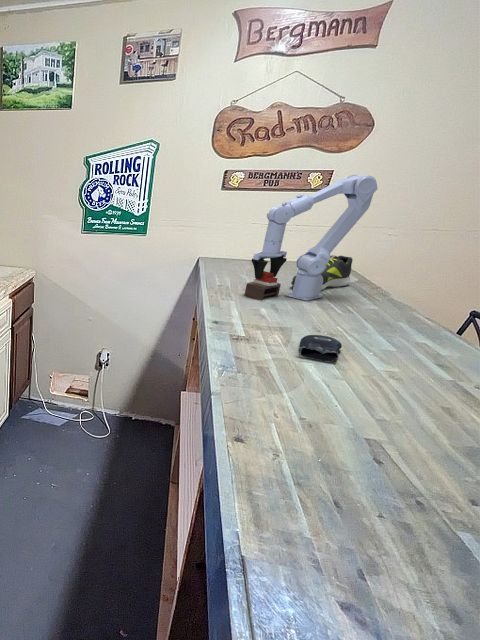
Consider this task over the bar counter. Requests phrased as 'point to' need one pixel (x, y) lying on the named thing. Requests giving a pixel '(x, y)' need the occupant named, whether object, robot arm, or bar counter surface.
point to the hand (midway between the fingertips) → (265, 277)
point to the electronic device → (319, 348)
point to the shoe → (267, 279)
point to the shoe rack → (261, 290)
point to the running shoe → (335, 272)
